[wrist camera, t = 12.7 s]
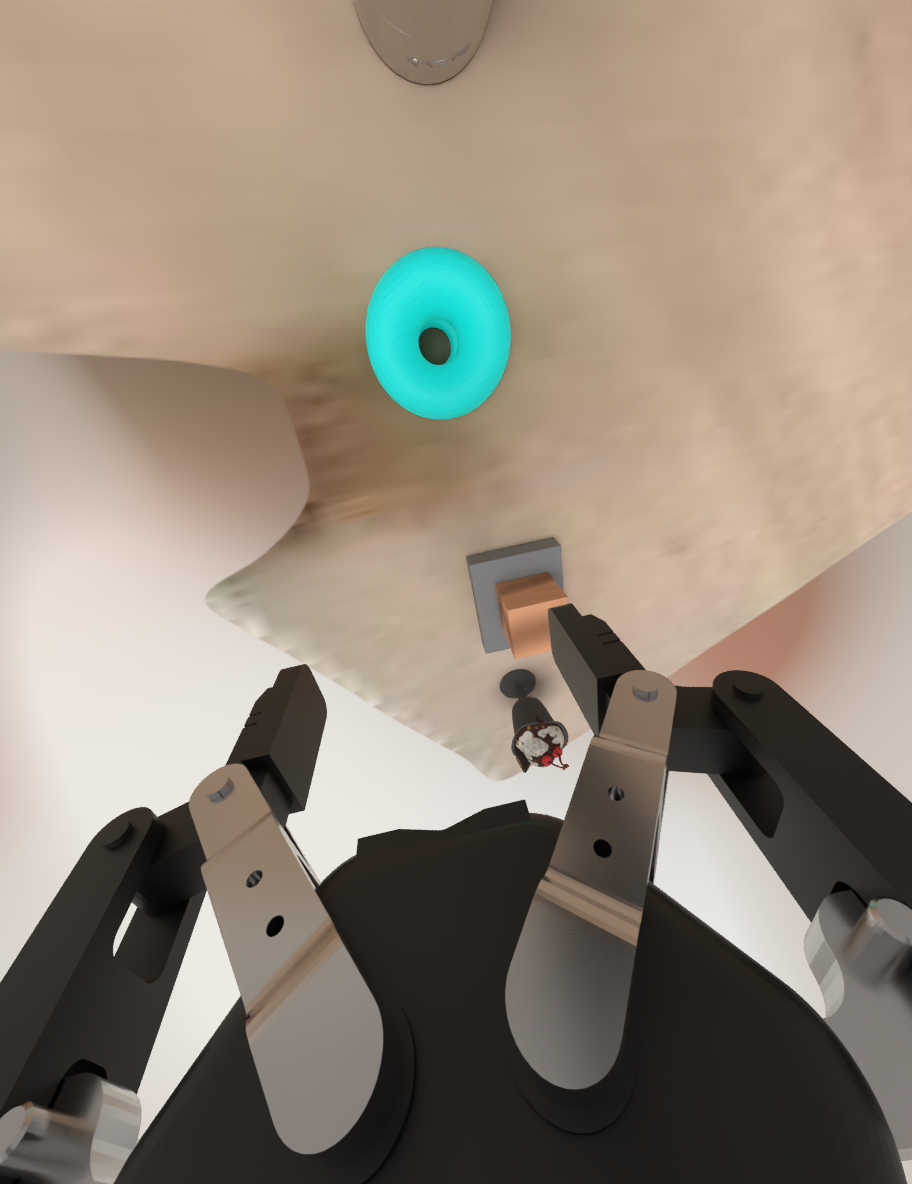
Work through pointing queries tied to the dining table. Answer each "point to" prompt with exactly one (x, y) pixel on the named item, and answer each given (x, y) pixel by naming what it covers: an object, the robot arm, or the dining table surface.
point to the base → (504, 568)
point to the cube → (528, 612)
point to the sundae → (532, 724)
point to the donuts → (448, 302)
